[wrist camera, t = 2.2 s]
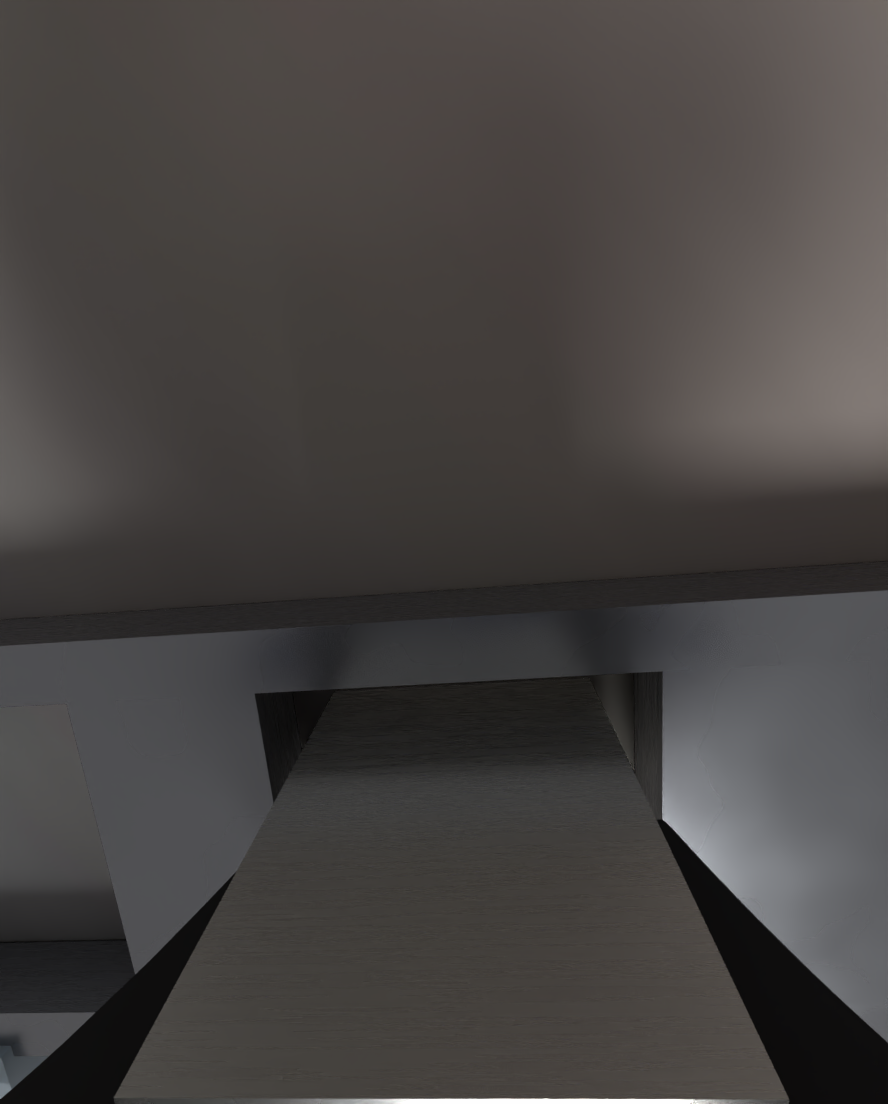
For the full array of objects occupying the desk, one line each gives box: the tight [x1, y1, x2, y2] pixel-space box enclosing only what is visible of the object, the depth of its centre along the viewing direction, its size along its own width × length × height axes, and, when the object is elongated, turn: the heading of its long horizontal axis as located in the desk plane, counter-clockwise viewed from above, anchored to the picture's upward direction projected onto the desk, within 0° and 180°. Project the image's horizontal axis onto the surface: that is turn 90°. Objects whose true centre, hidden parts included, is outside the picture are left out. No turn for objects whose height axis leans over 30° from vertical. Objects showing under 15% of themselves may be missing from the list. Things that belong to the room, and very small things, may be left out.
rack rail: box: [0, 561, 888, 1056], centre depth 9 cm, size 8×26×1 cm, turn 95°
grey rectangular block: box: [114, 678, 789, 1104], centre depth 7 cm, size 4×4×6 cm
